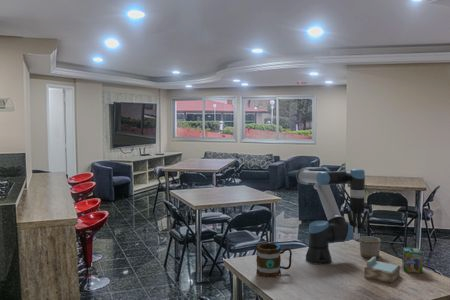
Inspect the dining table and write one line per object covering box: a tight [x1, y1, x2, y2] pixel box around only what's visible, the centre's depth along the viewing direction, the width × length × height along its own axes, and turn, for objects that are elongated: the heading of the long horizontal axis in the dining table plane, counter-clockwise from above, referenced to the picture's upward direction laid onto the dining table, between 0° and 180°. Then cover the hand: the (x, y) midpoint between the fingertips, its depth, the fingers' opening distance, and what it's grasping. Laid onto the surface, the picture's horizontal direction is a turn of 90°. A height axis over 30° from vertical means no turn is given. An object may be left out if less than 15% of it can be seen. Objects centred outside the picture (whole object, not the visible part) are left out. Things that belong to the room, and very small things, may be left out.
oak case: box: [363, 260, 401, 284], centre depth 208 cm, size 14×14×5 cm
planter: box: [358, 235, 381, 259], centre depth 241 cm, size 13×13×10 cm
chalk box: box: [401, 242, 424, 274], centre depth 216 cm, size 9×9×15 cm
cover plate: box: [365, 257, 399, 274], centre depth 207 cm, size 13×12×4 cm
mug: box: [256, 242, 293, 279], centre depth 213 cm, size 20×14×15 cm
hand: (356, 238), depth 216 cm, fingers closed
